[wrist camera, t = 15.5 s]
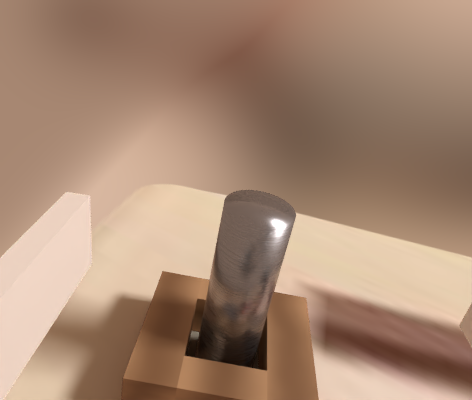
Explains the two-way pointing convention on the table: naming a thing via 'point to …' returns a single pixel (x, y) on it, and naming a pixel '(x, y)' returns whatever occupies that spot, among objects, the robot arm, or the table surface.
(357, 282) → the table surface
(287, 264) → the table surface
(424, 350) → the table surface
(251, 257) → the pin
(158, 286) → the socket block
